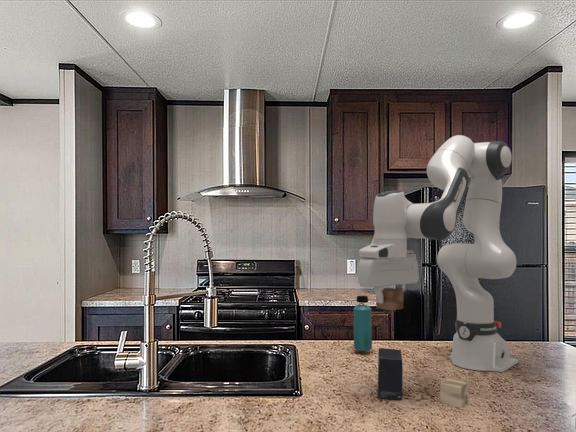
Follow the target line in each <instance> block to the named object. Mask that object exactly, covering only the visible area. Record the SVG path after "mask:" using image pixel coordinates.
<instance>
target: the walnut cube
mask: <svg viewBox="0 0 576 432" xmlns="http://www.w3.org/2000/svg"><path fill="white" fill-rule="evenodd" d="M382 293H383V296H385V297H386V303H378V302H377V296H376V301H375V302H376V308H377V309H381V310H386V311H397V310H403V309H404V293H403V290H401V289H397V288H392V287H386V288H385V287H383V290H382Z"/></svg>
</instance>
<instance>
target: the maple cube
mask: <svg viewBox="0 0 576 432" xmlns="http://www.w3.org/2000/svg"><path fill="white" fill-rule="evenodd" d="M439 386H440V388H439V389H440V391H439V392H440V397H439V398H440V399H439V400H440V403H439V404H442V405H446V404H447V405H446V406H450V405H451V407H454V406H455V408H458V407H459V408H458V409H461V408H463V407H464V406H465V405H466V404H468V403H469V402H468V401H469V400H468V396H469V395H468V392H469V391H468V382H466V381H463V380H462V381H461V380H457V379H451V378H446V379H445V380H443V381H442V382H440V384H439ZM463 405H464V406H463ZM462 406H463V407H462Z"/></svg>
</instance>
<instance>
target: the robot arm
mask: <svg viewBox="0 0 576 432" xmlns="http://www.w3.org/2000/svg"><path fill="white" fill-rule="evenodd" d="M512 162H513V154H512V150H511V148H510V146H509V145H508V144H507V143H506V142H504V141H500V140H499V141H498V140H492V141H485V142H484V141H483V142H473V141H472V139H471V138H470V137H468V136H465V135H462V134H461V135H460V134H457V135H453V136H451V137H450V138H448V139H447V140H446V141H444V143H443V144H441V146H440V147H439V148H438V149H437V150H436V151H435V153H434V154H433V155H432V157H431V158H430V159H429V161H428V163H427V167H426V175H427V178H428V180H429V182H430V183H431V184H432V185H433V186H434V187H435V188H437V189H440V190H441V191H443V193H442V195H441V197H440V199H438V200H436V201H432V202H425V203H413V202H411V201H410V200H409V199H407V198H406V196H405V193H404V191H403V190H400V189H399V190H398V189H397V190H389V191H387V190H386V191H381V192H380V193H378V194H377V195H375V197H374V198H375V199H374V202H373V210H372V211H373V213H372V216H373V217H372V219H373V220H372V222H373V228H374V234H373V239H372V240H373V241H372V243H370V244H368V245H366V246H364V247H361V248H360V249H359V250H358V256H359V257H360V259H359V261H358V264H357V265H358V266H357V281H358V284H359V285H360V287H362V288H363V287H364V288H373V292H374V293H375V295H376V296H377V302H378V303H386V297H385V296H383V293H382V290H383V288H384V287H387V286H395V287H396V288H395V289H401V290H403V294H404V293H405V290H406V285H408V284H409V285H412V284H417V283H418V282H419V280H420V273H419V272H420V271H419V263H418V260H417V254H416V253H415V252H414V250H412V249H407V248H408V247H407V243H408V241H407V240H408V239H428V240H434V241H435V240H436V241H444V240H446V239H448V237H449V238H450V236H451V235H452V234H453V232H454V231H455V228H456V225H457V220H458V214H459V212H460V208H461V206H462V204H463V202H464V199H465V202H464V210H463V217H462V224H463V226H464V228H465V230H467V231H468V232H470V233H472V234H473V237H474V243H462V242H461V243H460V242H456V243H451V244H445V245H443V246H442V247H441V248H440V249H439V251H438V253H437V256H436V257H437V260H436V262H437V265H438V267H439V269H440V270H441V272H442V273H444V274H445V276H447V278H448V280H449V281H450V283H451V285H452V288H453V290H454V293H455V300H456V319H455V324H454V325H455V331H456V332H455V333H454V335H453V338H452V339H453V340H452V352H451V354H449V359H450V360H451V362H452V363H451V364H453V365H454V366H457V367H459V368H462V369H467V370H472V371H481V372H483V371H484V372H499V373H503V372H506V371H507V370H509V369H510V368H512V367H514V366H515V365H517V364H518V363H519V360H518V359H517V358H515V357H512V356H511V351H510V350H511V348H510V345H509V343H508V342H507V341H506V340H505V339H504V338H502V336H501V335H500V334H499V333H498V329H501V328H502V322H501V321H497V320H494V319H495V318H494V317H495V315H494V313H495V312H494V311H495V310H494V307H495V306H494V304H495V303H494V297H493V296H492V294H491V293H490V292H489V291H487V290H485V289H484V288H483V286H482V285H481V284H480V281H479V279H486V280H487V279H488V280H499V279H507V278H510V277H511V276H512V275H513V274H514V272H515V271H516V268H517V257H516V254H515V253H514V250H512V249H511V248H510V247H509V246H508V245H507V244H506V243H505V241H504V239H503V238H502V234H501V231H500V222H501V221H500V220H501V210H502V204H503V203H502V201H503V182H502V179H503V178H504V177H505V175H506V173H507V172H508V171H509V169H510V168H511V165H512ZM469 180H470V184H469ZM465 196H466V198H465ZM497 328H498V329H497Z"/></svg>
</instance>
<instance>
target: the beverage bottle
mask: <svg viewBox="0 0 576 432" xmlns="http://www.w3.org/2000/svg"><path fill="white" fill-rule="evenodd" d="M355 301H356V303H363V304H357V305H355V306H354V307H353V348H354V349H355V350H356V351H362V352H363V351H371V350H372V347H373V334H372V333H373V330H372V329H373V328H372V327H373V326H372V324H373V322H372V307H370V305H368V304H366V303H369V297H368V295H357V296H356V300H355ZM364 303H365V304H364Z"/></svg>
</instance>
